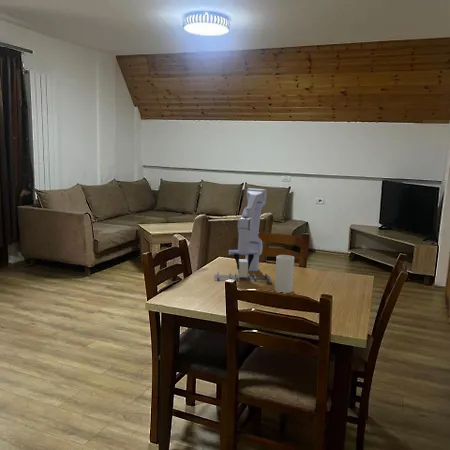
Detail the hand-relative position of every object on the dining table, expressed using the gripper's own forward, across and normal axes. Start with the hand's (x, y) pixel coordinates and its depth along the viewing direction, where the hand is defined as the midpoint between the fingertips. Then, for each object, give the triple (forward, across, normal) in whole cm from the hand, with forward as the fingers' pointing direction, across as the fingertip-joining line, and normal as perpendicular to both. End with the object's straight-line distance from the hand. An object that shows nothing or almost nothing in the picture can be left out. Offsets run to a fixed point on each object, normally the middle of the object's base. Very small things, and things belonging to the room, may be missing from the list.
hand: (243, 269), depth 224 cm
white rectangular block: (+3, 0, 0) cm, 3 cm away
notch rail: (+6, 0, 0) cm, 6 cm away
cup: (+6, +18, -14) cm, 24 cm away
